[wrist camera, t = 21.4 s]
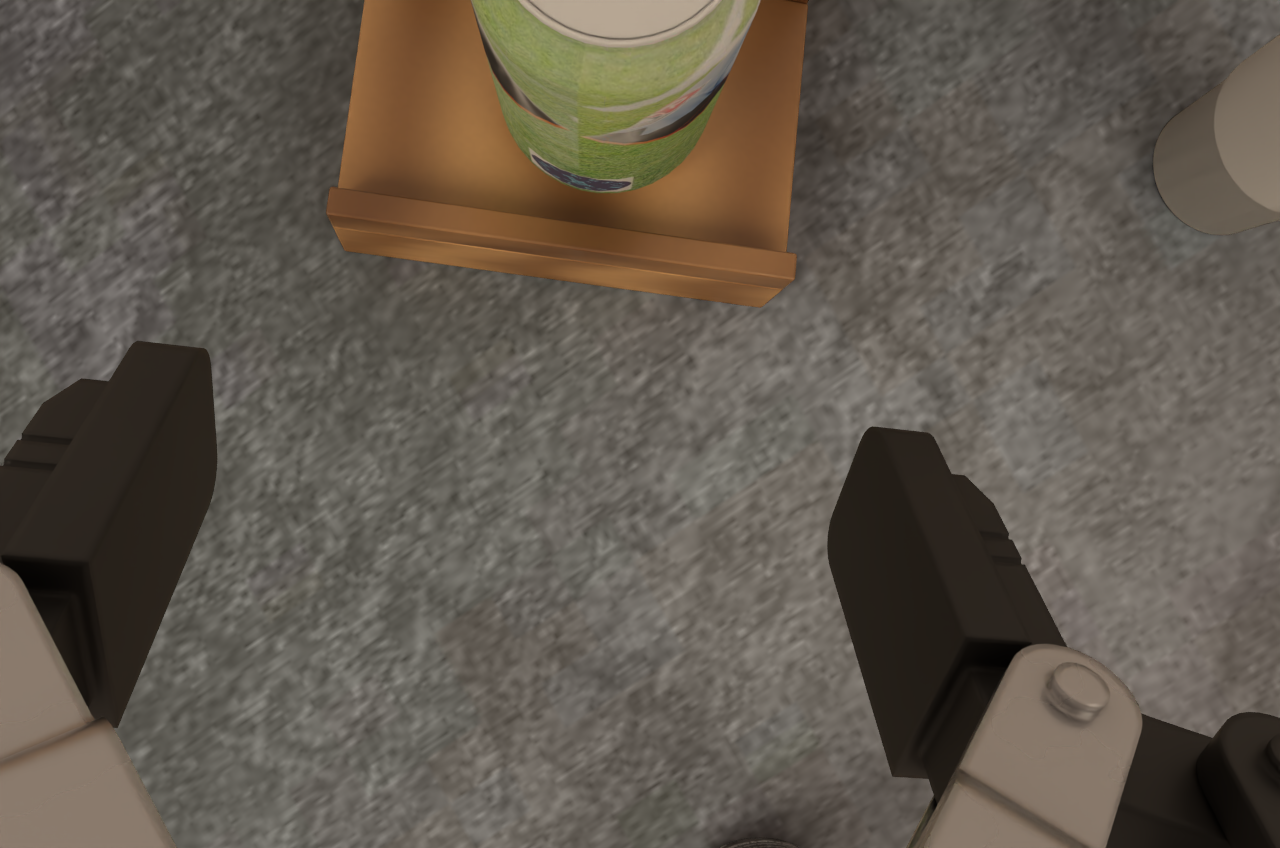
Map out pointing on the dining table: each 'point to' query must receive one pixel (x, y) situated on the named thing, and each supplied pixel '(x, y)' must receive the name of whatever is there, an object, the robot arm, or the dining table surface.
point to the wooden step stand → (543, 207)
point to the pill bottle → (759, 843)
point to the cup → (1226, 151)
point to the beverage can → (610, 81)
